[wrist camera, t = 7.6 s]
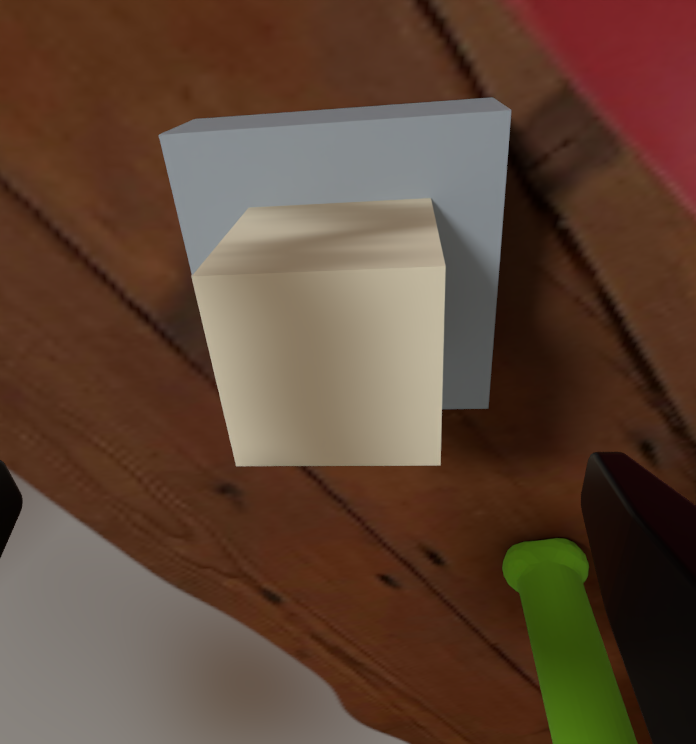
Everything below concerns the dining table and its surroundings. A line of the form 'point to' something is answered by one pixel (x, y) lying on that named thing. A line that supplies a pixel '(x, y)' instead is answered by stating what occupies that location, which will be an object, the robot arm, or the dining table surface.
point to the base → (366, 194)
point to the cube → (328, 333)
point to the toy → (567, 644)
